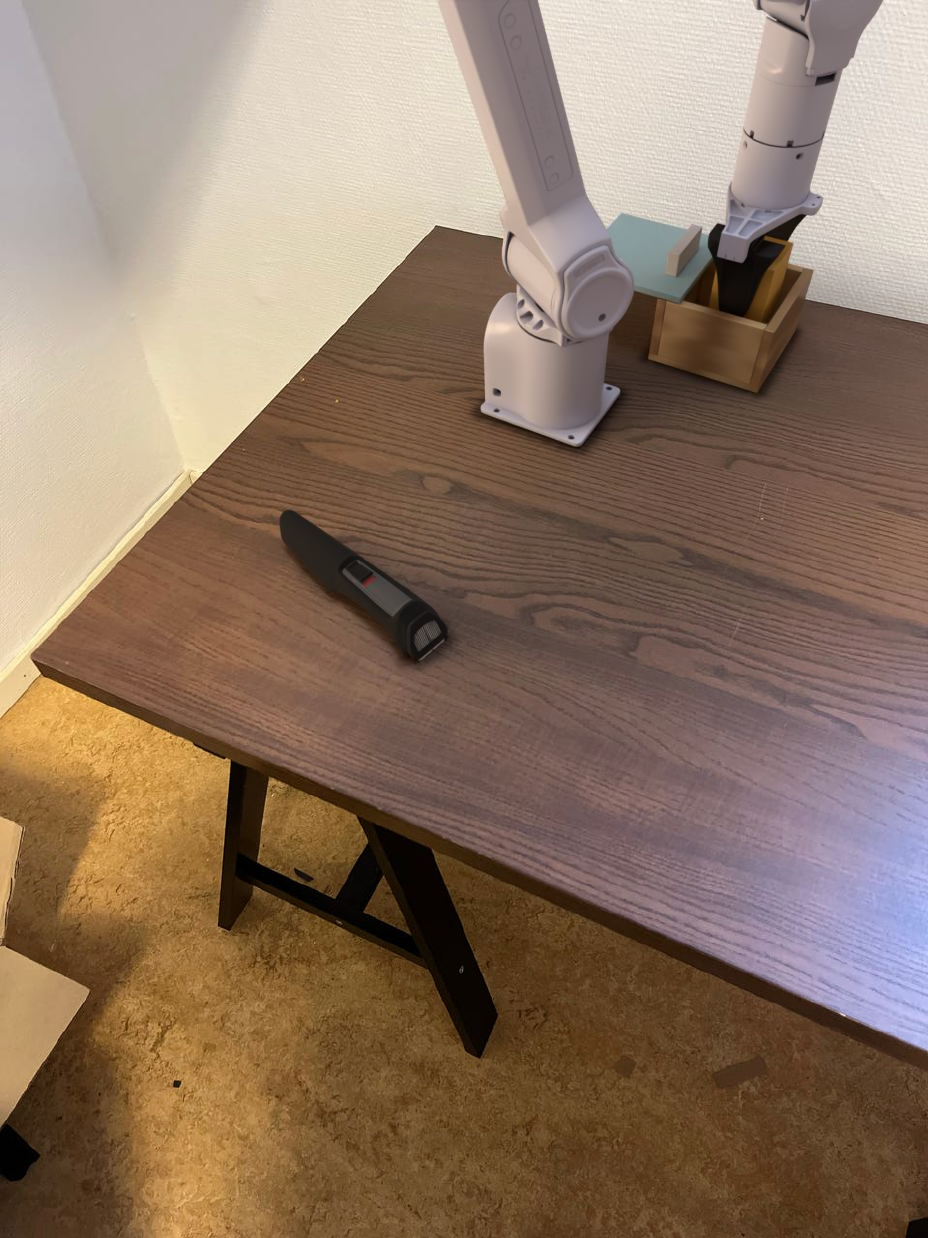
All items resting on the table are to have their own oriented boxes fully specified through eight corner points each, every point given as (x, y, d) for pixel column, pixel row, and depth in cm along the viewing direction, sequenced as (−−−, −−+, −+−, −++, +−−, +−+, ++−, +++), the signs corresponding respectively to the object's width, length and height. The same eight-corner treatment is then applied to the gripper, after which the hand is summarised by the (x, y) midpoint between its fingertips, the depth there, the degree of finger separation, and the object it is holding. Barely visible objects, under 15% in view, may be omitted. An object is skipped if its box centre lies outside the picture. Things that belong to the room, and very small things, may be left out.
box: (647, 359, 76) (657, 298, 71) (691, 301, 81) (702, 240, 76) (757, 393, 73) (774, 332, 68) (795, 330, 78) (814, 269, 73)
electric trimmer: (312, 524, 66) (304, 494, 64) (452, 634, 59) (449, 606, 57) (273, 551, 65) (263, 522, 62) (412, 667, 58) (407, 640, 55)
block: (705, 321, 74) (718, 256, 69) (724, 294, 76) (739, 228, 71) (757, 336, 72) (774, 270, 67) (775, 308, 74) (793, 242, 70)
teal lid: (571, 272, 74) (573, 244, 72) (620, 218, 79) (623, 190, 77) (679, 303, 71) (685, 274, 69) (724, 245, 76) (730, 216, 74)
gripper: (806, 186, 57) (758, 358, 68) (868, 99, 64) (816, 267, 75) (705, 164, 59) (675, 333, 70) (776, 82, 67) (739, 247, 77)
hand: (742, 298), depth 73 cm, fingers closed on block, 4 cm apart
